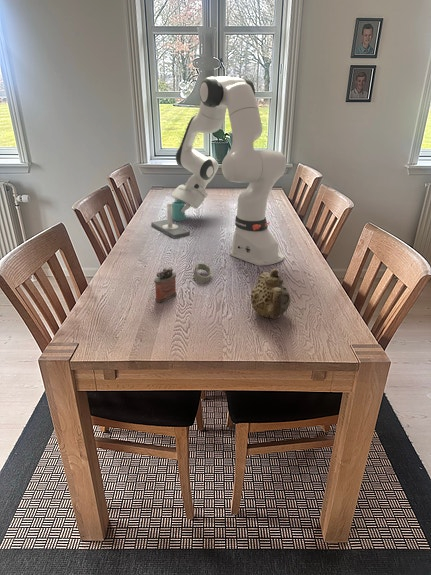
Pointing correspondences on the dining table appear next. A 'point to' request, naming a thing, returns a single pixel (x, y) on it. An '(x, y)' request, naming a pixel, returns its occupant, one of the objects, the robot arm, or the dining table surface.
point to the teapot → (270, 295)
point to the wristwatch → (199, 277)
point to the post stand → (170, 225)
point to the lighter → (165, 285)
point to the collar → (178, 210)
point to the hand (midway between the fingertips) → (177, 209)
